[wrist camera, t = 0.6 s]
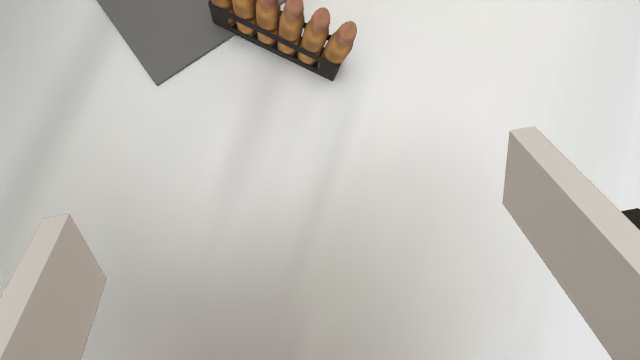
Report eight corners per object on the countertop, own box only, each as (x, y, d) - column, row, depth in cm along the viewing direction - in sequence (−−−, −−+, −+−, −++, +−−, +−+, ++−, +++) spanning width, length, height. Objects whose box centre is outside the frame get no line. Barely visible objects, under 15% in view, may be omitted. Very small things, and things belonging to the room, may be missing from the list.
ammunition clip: (212, 22, 39) (187, -40, 27) (222, 1, 39) (201, -70, 27) (333, 81, 40) (360, 46, 28) (342, 61, 40) (373, 17, 28)
